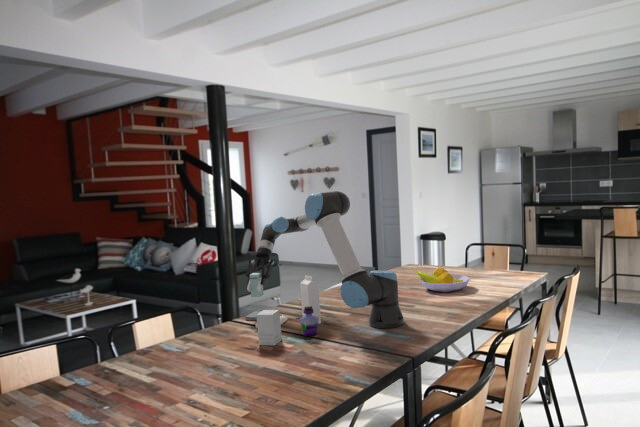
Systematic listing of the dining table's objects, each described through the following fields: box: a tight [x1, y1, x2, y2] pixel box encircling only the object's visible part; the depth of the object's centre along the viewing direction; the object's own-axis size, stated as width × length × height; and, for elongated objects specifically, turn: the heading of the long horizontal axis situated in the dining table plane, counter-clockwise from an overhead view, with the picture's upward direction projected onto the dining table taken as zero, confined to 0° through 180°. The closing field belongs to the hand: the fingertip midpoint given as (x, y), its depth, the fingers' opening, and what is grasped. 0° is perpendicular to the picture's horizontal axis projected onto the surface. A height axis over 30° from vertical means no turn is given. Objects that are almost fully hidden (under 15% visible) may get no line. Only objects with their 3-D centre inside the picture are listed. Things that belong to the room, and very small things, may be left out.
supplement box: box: [256, 309, 283, 346], centre depth 194 cm, size 7×7×13 cm
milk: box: [299, 275, 322, 325], centre depth 216 cm, size 6×6×22 cm
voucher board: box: [255, 314, 288, 329], centre depth 222 cm, size 14×10×2 cm
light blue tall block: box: [250, 272, 264, 298], centre depth 234 cm, size 5×4×11 cm
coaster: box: [245, 310, 261, 321], centre depth 235 cm, size 10×10×2 cm
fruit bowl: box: [414, 267, 471, 293], centre depth 264 cm, size 28×27×11 cm
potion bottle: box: [299, 306, 319, 338], centre depth 201 cm, size 9×9×12 cm
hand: (253, 290), depth 230 cm, fingers closed on light blue tall block, 4 cm apart
